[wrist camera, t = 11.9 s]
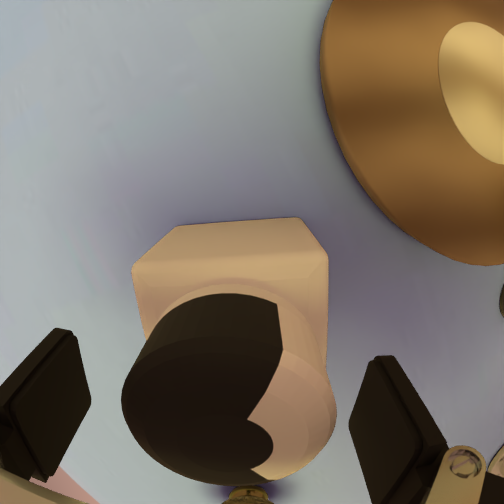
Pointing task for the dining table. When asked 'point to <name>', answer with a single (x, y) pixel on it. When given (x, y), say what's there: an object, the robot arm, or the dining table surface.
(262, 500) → the brown textured pot
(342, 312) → the dining table surface
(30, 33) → the dining table surface
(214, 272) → the medicine bottle
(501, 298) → the joystick
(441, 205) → the disc
